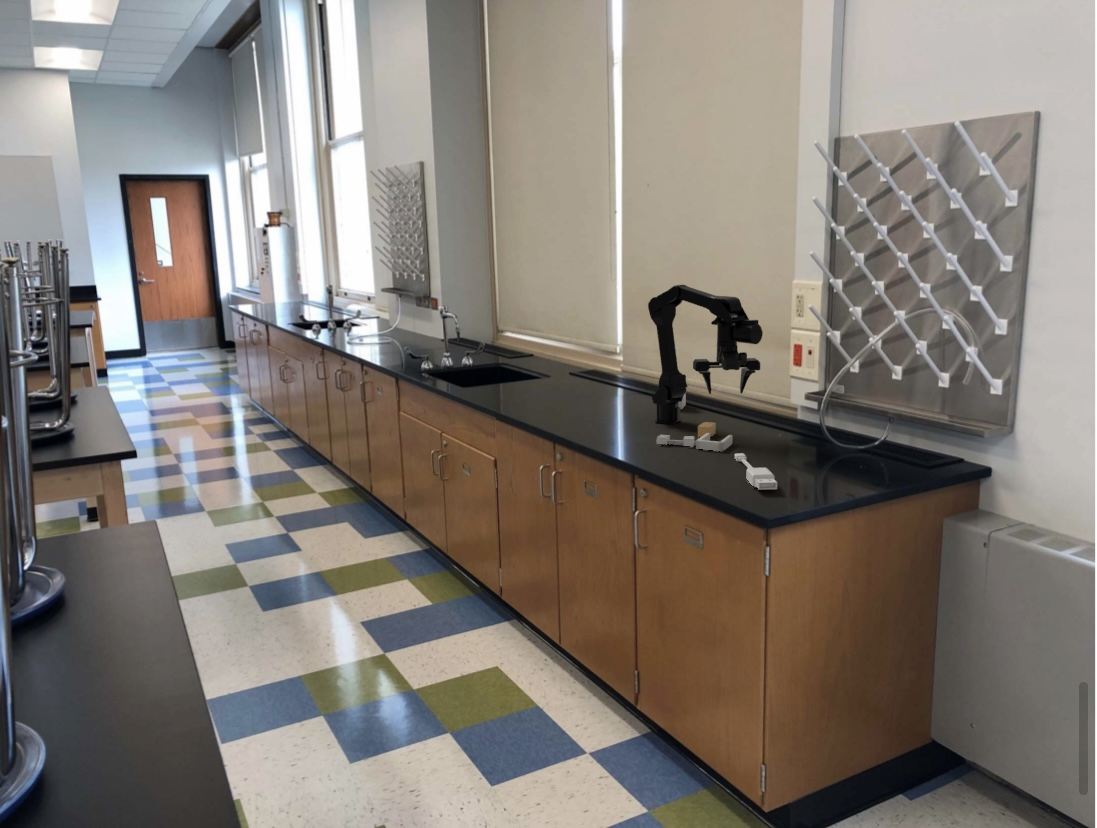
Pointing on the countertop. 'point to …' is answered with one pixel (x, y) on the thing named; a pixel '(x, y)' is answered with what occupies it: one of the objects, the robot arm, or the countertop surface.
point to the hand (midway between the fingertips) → (725, 393)
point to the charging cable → (757, 475)
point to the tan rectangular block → (706, 429)
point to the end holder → (713, 443)
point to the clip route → (666, 440)
